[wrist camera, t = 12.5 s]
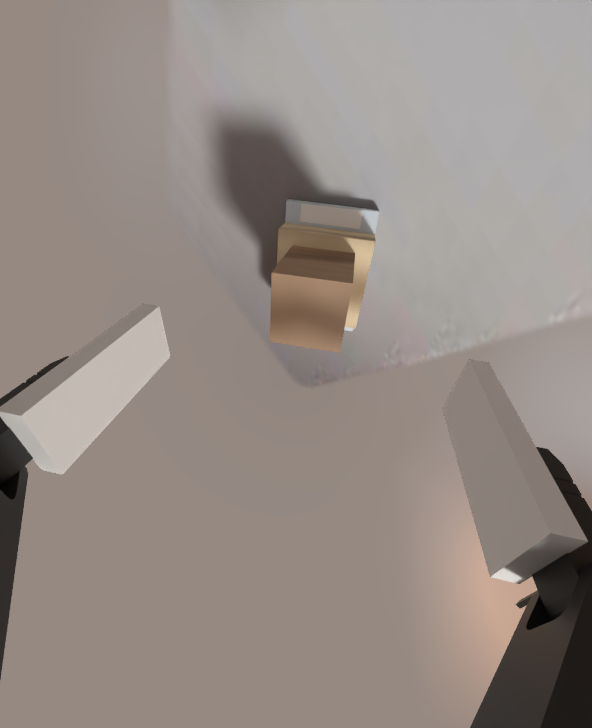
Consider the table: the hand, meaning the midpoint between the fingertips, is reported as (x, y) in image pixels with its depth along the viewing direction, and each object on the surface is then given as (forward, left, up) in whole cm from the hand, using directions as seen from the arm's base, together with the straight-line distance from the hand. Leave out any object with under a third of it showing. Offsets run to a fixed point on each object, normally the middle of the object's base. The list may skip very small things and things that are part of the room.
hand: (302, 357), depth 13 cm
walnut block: (+3, -1, -18) cm, 19 cm away
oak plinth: (+3, -1, -21) cm, 22 cm away
